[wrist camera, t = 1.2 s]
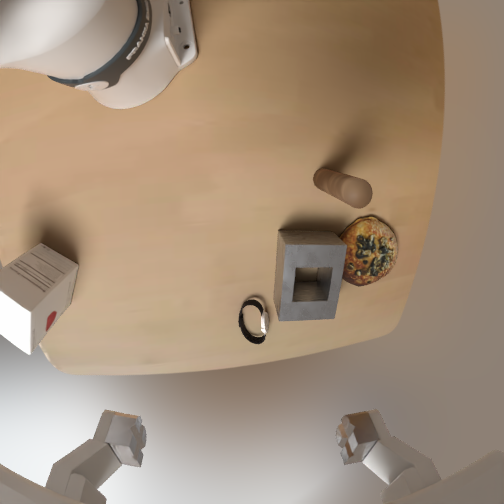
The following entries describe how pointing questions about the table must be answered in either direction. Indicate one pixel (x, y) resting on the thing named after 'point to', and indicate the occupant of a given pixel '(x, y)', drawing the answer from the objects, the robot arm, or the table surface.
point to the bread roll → (368, 251)
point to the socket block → (314, 292)
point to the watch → (263, 323)
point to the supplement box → (34, 295)
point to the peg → (344, 187)
